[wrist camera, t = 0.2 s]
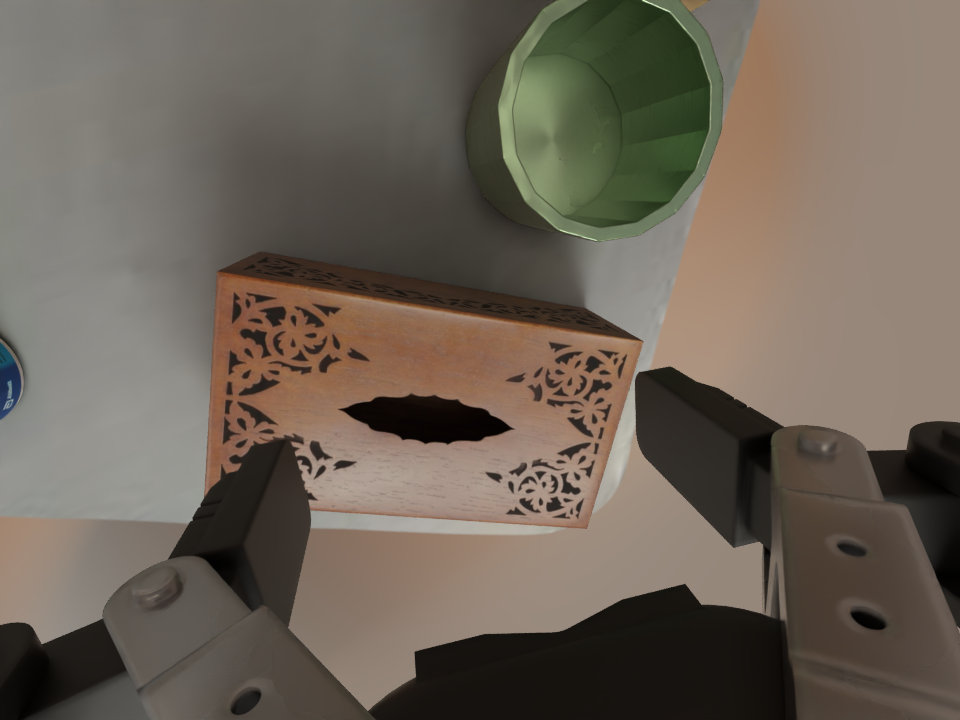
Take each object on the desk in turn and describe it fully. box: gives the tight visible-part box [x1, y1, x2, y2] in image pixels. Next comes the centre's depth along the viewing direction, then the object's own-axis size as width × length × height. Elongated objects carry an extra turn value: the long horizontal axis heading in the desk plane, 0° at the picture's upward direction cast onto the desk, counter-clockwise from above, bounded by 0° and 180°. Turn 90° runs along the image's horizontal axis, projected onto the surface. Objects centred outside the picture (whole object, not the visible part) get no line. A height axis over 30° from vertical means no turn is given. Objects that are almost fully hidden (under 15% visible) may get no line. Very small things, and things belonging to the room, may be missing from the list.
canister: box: [466, 0, 723, 242], centre depth 32 cm, size 13×13×12 cm
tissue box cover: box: [204, 252, 643, 529], centre depth 37 cm, size 26×14×10 cm, turn 78°
